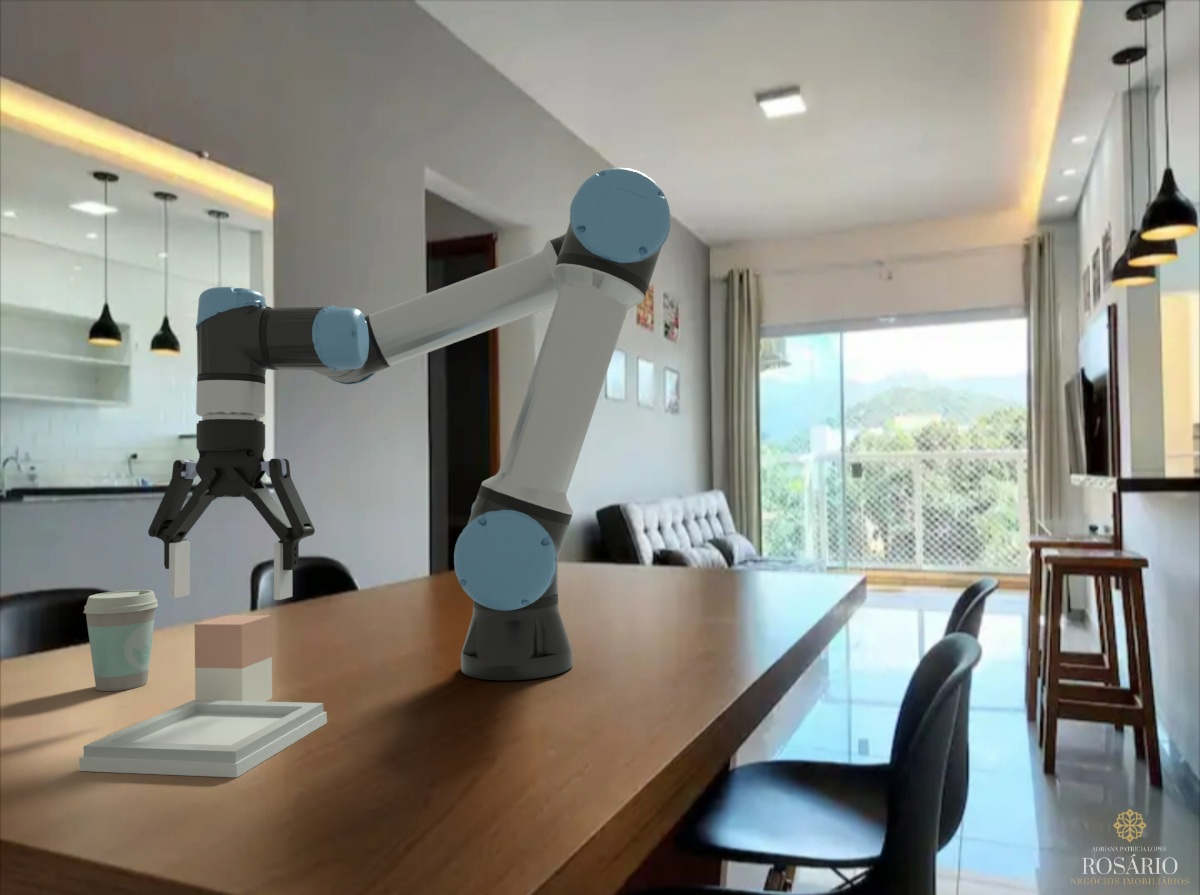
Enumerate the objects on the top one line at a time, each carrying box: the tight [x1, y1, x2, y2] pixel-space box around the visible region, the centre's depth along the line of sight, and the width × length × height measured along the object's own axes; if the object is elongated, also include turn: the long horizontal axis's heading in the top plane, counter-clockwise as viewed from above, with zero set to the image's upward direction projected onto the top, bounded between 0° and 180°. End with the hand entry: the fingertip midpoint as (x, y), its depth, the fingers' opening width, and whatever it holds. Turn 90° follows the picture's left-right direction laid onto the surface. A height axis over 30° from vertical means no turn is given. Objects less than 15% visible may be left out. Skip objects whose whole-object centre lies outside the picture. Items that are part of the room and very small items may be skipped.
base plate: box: [78, 699, 328, 778], centre depth 82 cm, size 16×16×2 cm
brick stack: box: [194, 614, 273, 702], centre depth 97 cm, size 6×6×10 cm
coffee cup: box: [82, 589, 159, 692], centre depth 108 cm, size 8×8×12 cm
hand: (230, 597), depth 97 cm, fingers open, 13 cm apart
